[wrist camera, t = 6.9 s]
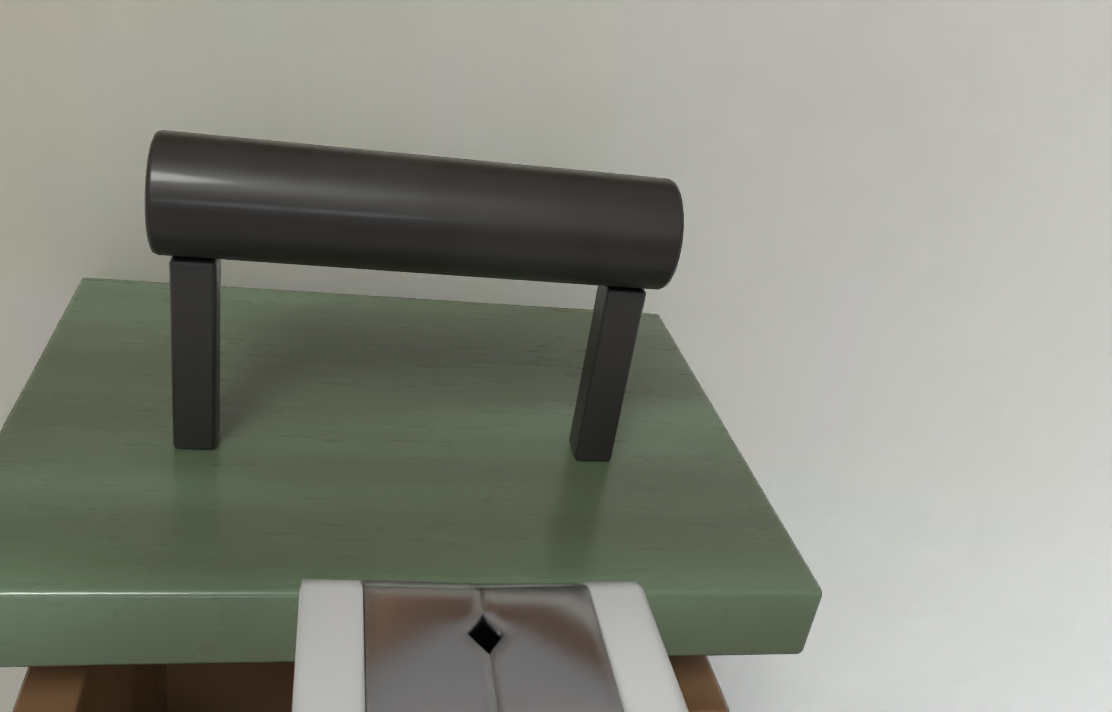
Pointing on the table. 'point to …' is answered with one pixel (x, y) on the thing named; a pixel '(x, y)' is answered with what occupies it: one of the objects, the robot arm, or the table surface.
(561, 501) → the drawer
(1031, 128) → the table surface
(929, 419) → the table surface
